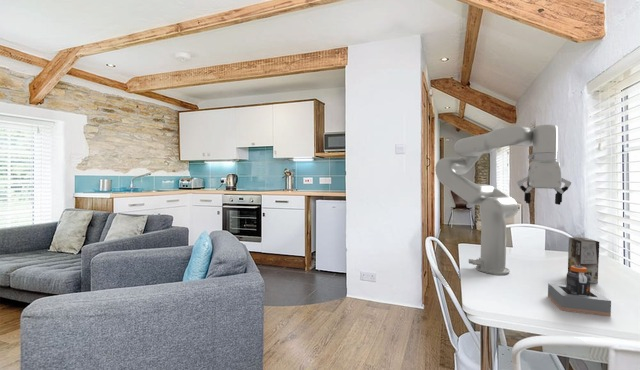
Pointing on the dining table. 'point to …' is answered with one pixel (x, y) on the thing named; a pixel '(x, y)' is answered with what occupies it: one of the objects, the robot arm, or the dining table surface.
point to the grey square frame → (579, 301)
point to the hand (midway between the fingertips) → (542, 203)
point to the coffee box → (584, 255)
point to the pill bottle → (578, 281)
